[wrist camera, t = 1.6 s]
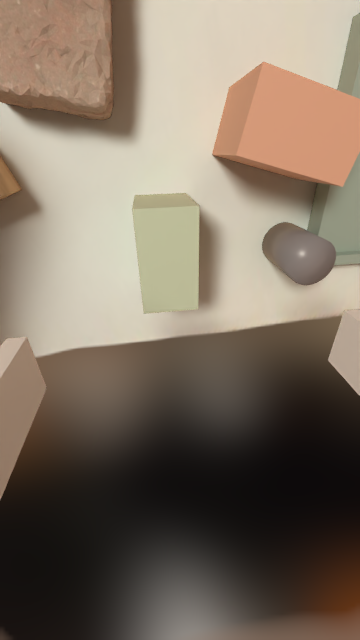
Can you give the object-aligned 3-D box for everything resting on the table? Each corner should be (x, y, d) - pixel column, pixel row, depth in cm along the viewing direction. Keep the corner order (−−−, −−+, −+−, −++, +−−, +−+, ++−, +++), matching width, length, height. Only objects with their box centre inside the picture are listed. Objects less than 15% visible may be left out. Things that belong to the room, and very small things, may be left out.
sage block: (143, 279, 28) (143, 313, 22) (134, 195, 24) (132, 208, 18) (186, 276, 28) (198, 309, 23) (185, 193, 24) (199, 205, 18)
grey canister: (259, 262, 29) (285, 286, 24) (265, 223, 26) (294, 240, 21) (296, 260, 29) (329, 283, 24) (304, 221, 27) (342, 237, 22)
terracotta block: (294, 178, 25) (342, 186, 19) (211, 154, 23) (236, 155, 17) (318, 119, 23) (381, 107, 17) (229, 87, 21) (263, 61, 15)
